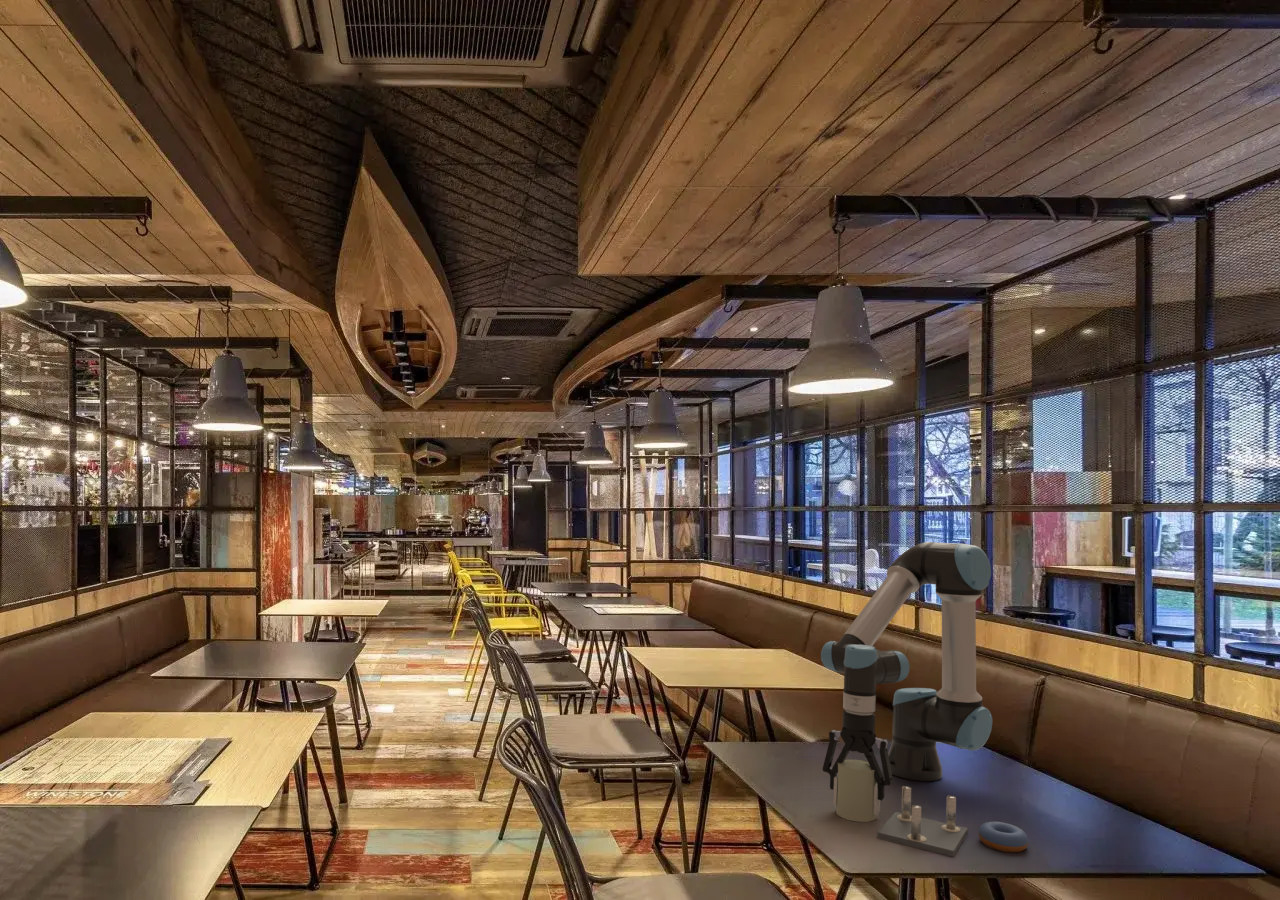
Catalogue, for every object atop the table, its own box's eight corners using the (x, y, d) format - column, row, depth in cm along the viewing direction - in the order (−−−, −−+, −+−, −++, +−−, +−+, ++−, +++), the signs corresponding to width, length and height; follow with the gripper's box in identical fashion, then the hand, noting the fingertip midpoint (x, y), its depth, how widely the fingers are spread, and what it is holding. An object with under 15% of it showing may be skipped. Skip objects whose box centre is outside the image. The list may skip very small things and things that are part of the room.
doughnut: (999, 854, 174) (1000, 832, 175) (968, 839, 184) (969, 817, 184) (1038, 856, 177) (1039, 834, 177) (1005, 840, 186) (1006, 819, 187)
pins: (902, 816, 191) (903, 785, 192) (956, 828, 185) (956, 796, 186) (886, 834, 180) (887, 801, 180) (943, 848, 173) (944, 814, 174)
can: (877, 824, 189) (879, 770, 190) (836, 819, 191) (838, 766, 191) (874, 810, 198) (876, 759, 199) (835, 806, 200) (836, 755, 200)
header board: (895, 817, 194) (895, 810, 194) (967, 833, 186) (967, 827, 186) (877, 837, 181) (877, 831, 181) (953, 856, 172) (953, 849, 172)
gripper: (810, 706, 198) (807, 802, 197) (901, 722, 187) (898, 824, 185) (820, 701, 205) (817, 794, 203) (909, 716, 194) (906, 814, 192)
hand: (856, 808), depth 194 cm, fingers closed on can, 9 cm apart
